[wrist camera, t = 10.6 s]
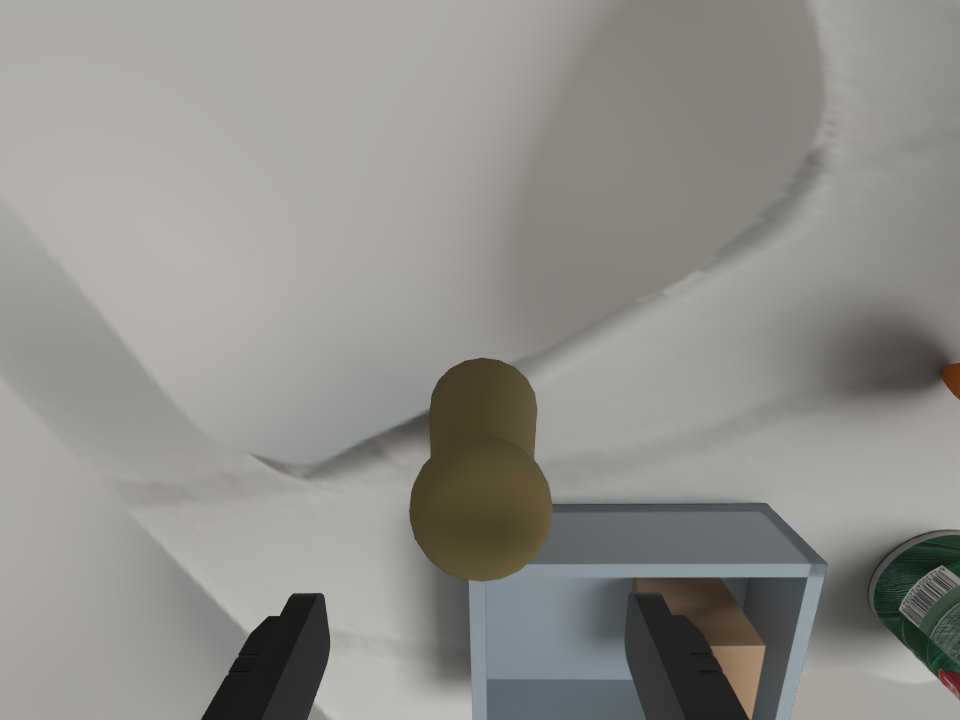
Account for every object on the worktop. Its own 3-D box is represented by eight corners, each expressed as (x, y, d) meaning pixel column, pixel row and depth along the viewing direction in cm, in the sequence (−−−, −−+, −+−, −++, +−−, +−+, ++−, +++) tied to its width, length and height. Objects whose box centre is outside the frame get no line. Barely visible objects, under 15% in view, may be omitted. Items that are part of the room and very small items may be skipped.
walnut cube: (716, 572, 27) (765, 645, 23) (707, 637, 29) (751, 719, 24) (633, 573, 27) (664, 646, 23) (628, 637, 29) (656, 719, 24)
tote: (766, 503, 27) (827, 563, 22) (734, 677, 31) (780, 761, 26) (471, 504, 27) (468, 564, 22) (475, 676, 31) (473, 758, 26)
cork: (414, 377, 25) (359, 487, 14) (517, 343, 24) (540, 431, 14) (451, 469, 27) (427, 629, 16) (550, 439, 26) (593, 585, 15)
